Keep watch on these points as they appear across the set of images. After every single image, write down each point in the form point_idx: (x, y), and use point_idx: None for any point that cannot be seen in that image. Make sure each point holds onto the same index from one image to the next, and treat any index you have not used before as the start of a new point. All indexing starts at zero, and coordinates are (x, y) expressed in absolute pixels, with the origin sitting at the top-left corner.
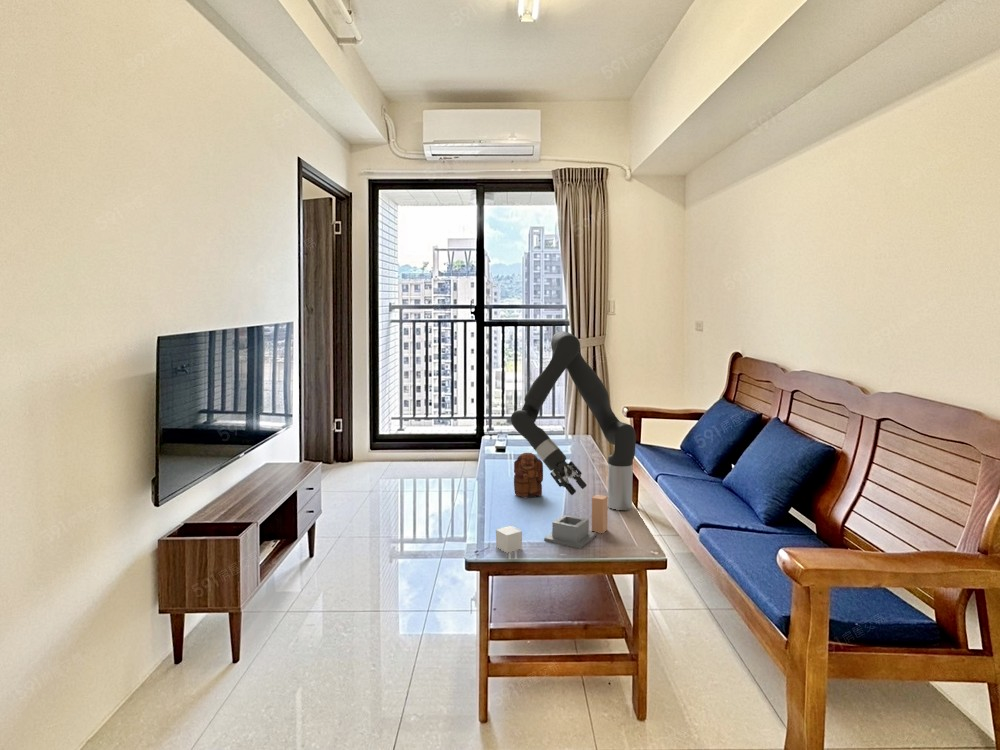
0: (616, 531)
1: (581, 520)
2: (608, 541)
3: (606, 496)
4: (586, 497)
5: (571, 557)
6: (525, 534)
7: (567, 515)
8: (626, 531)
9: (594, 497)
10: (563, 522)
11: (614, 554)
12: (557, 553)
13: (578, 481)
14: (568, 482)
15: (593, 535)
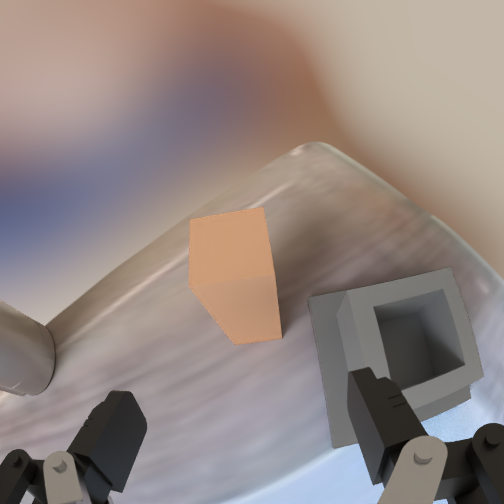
0: None
1: (372, 314)
2: (321, 247)
3: (194, 222)
4: None
5: (476, 258)
6: None
7: None
8: None
9: (260, 262)
10: (416, 384)
11: (381, 195)
12: (490, 300)
13: (117, 465)
14: (416, 445)
15: (336, 292)
